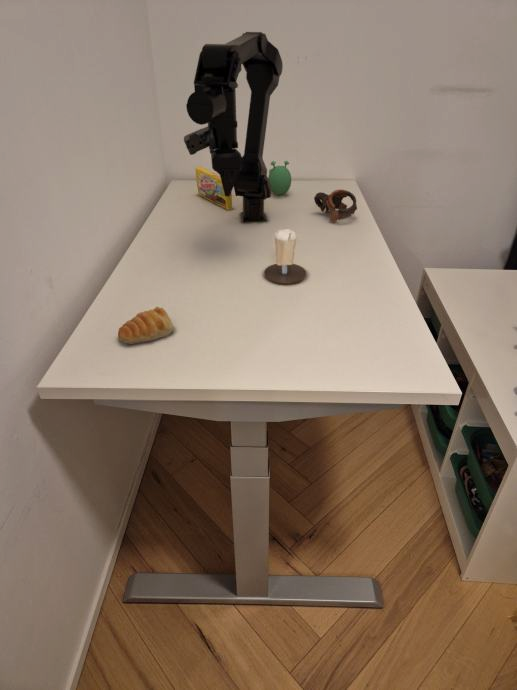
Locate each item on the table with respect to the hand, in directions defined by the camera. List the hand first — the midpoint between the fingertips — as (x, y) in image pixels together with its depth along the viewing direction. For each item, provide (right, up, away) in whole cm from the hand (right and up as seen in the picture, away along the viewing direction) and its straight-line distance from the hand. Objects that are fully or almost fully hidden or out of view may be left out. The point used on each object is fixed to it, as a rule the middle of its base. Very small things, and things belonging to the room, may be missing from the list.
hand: (225, 189), depth 107 cm
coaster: (+13, -20, -6) cm, 25 cm away
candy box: (-6, +6, +31) cm, 32 cm away
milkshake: (+13, -20, -6) cm, 25 cm away
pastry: (-12, -34, -23) cm, 43 cm away
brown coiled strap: (+28, 0, +21) cm, 35 cm away
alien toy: (+14, +10, +36) cm, 40 cm away
